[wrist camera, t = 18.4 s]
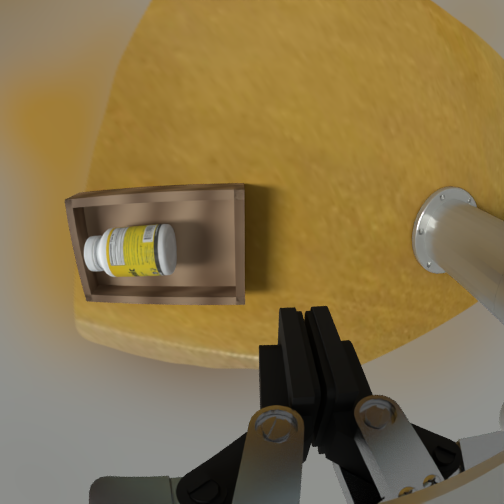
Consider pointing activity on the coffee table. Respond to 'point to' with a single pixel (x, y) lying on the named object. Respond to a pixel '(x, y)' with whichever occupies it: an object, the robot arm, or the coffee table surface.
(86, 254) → the supplement bottle
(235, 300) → the tray
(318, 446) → the robot arm
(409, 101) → the coffee table surface
